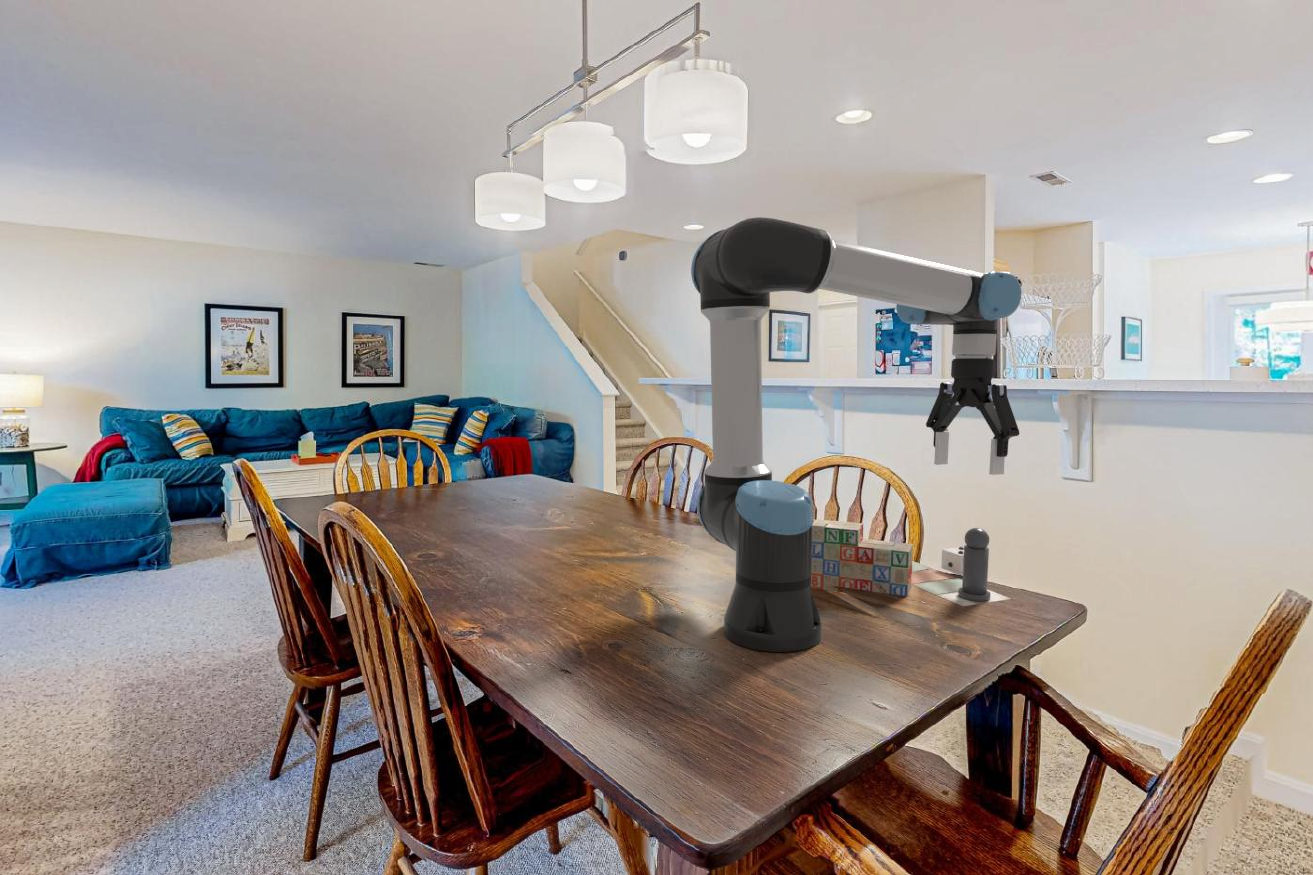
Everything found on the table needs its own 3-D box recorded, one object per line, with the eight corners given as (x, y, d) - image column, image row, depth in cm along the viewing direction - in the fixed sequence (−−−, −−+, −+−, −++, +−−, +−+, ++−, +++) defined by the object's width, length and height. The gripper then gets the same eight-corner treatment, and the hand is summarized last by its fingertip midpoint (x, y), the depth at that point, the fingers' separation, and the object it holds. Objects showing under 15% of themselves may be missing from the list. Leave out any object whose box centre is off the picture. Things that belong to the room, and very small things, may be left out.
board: (961, 612, 120) (961, 606, 119) (865, 570, 144) (866, 565, 144) (1014, 604, 124) (1014, 598, 124) (913, 564, 148) (913, 560, 148)
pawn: (973, 603, 121) (977, 532, 120) (951, 594, 126) (954, 526, 125) (996, 599, 123) (1000, 530, 122) (974, 590, 128) (977, 523, 126)
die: (959, 581, 137) (960, 554, 136) (939, 573, 142) (940, 547, 142) (981, 578, 139) (982, 551, 138) (960, 570, 144) (961, 544, 143)
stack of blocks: (911, 592, 130) (914, 527, 129) (907, 602, 125) (910, 535, 124) (799, 576, 140) (800, 516, 139) (790, 585, 135) (791, 523, 133)
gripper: (1046, 357, 122) (1038, 477, 124) (939, 358, 145) (934, 459, 147) (1014, 356, 119) (1007, 480, 121) (910, 357, 142) (906, 461, 144)
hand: (967, 469), depth 134 cm, fingers open, 13 cm apart
